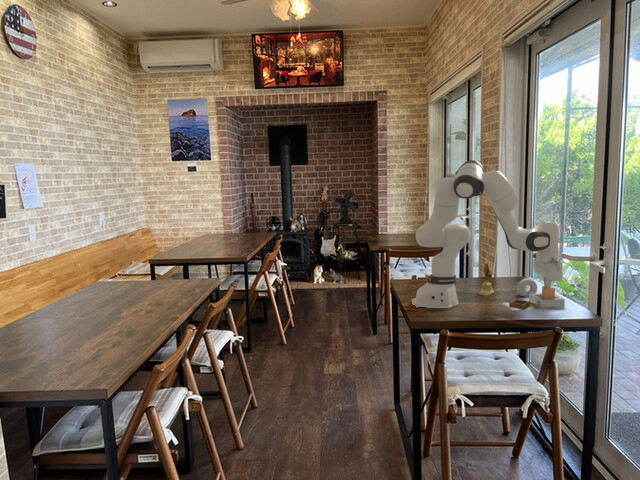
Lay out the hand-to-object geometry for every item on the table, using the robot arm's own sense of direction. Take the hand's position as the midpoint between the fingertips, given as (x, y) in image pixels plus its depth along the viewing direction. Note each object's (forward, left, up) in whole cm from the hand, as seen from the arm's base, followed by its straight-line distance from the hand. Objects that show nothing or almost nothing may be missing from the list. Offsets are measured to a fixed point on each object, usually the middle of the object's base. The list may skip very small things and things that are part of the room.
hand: (547, 286), depth 210 cm
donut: (-1, +18, -10) cm, 21 cm away
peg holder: (-12, 0, -9) cm, 15 cm away
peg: (0, 0, -9) cm, 9 cm away
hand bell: (-17, +29, -10) cm, 35 cm away
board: (-6, 0, -10) cm, 12 cm away
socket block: (0, 0, -9) cm, 9 cm away
